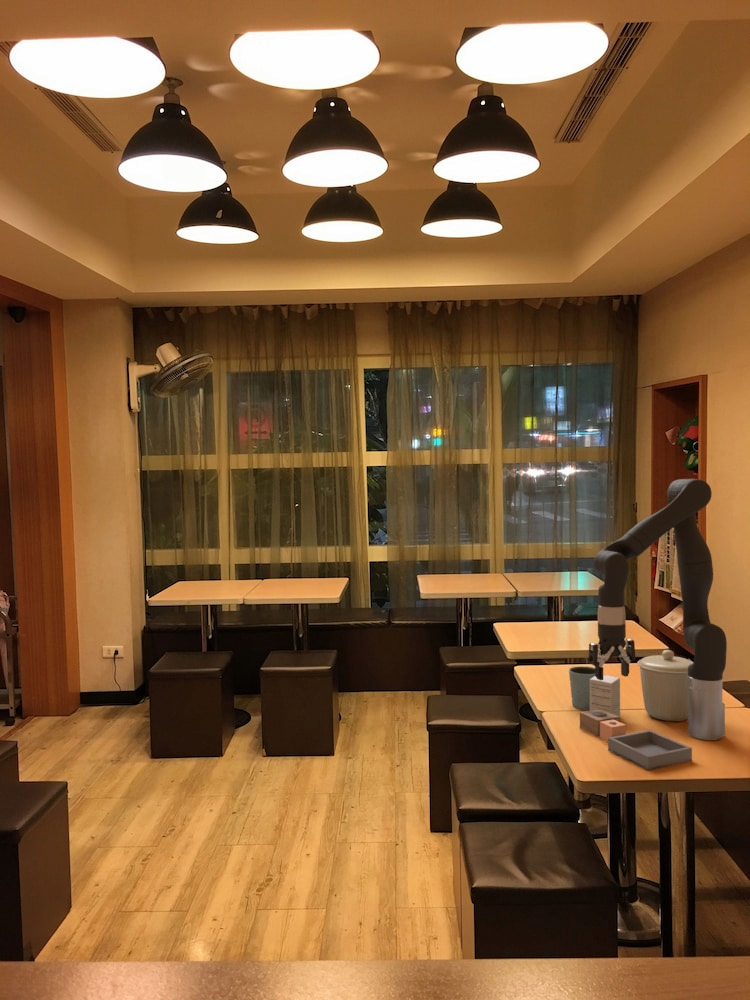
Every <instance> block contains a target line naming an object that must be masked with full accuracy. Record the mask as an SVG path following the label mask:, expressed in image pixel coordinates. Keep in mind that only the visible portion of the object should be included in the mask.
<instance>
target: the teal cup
mask: <svg viewBox="0 0 750 1000" xmlns="http://www.w3.org/2000/svg"><path fill="white" fill-rule="evenodd" d="M568 675H569V681H570V682H569V683H570V693H571V704H572V707H574V708H575V709H577V710H578V709H579V710H584V711H590V679H591V678H593V677H594V676H595V667H592V666H584V665H583V666H581V665H580V666H573V667H570V668H569V670H568Z"/></svg>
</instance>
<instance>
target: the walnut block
mask: <svg viewBox="0 0 750 1000" xmlns="http://www.w3.org/2000/svg"><path fill="white" fill-rule="evenodd" d="M613 719H614V720H616V721H618V722H620V717H619V716H617V715H614V714H612V713H610V712H607V711H605V710H603V709H596V710H584V711H580V712H579V729H582V730H583V731H585V732H588V733H589V734H591V735H594V736H596V737H599V738H600V722H602V721H608V720H613Z"/></svg>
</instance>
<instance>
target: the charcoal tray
mask: <svg viewBox="0 0 750 1000" xmlns="http://www.w3.org/2000/svg"><path fill="white" fill-rule="evenodd" d="M607 749H608V752H611V753H613V754H615V755H617V756H619V757H621V758H622V759H625V760H627V761H628V762H631V763H633V764H634V765H637V766H638V767H639V768H643V769H645V770H646V771H648V772H649V771H653V770H657V769H662V768H665V767H666V768H667V767H670V766H676V765H681V764H685V763H690V762H692V761H693V748H692V747H690V746H688V745H686V744H684V743H681V742H679V741H677V740H675V739H671V738H669V737H667V736H665V735H663V734H661V733H658V732H656V731H653V730H651V729H647V730H641V731H638V732H637V731H636V732H632V733H628V734H627V733H626V735H620V736H615V737H610V738H608V742H607Z"/></svg>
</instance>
